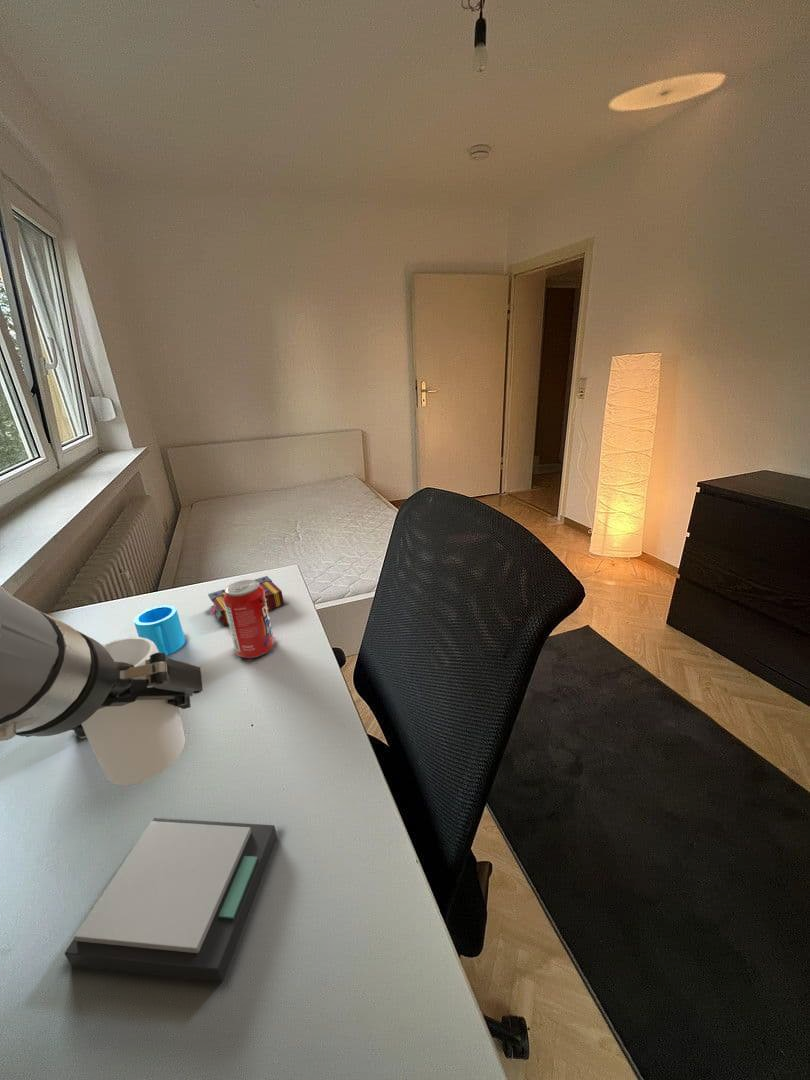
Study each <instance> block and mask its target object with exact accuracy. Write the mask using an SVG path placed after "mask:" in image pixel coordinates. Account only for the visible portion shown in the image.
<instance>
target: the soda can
mask: <svg viewBox="0 0 810 1080" xmlns="http://www.w3.org/2000/svg"><path fill="white" fill-rule="evenodd" d="M224 590H225V595H224V597H223V601H224V605H225V609H226V614H227V618H228V622H229V624H228V626H229V630H230V634H231V638H232V642H233V646H234V650H235V654H236V655H237V656H238V657H241V658H245V659H251V658H252V659H253V658H257V657H260V656H263V655H265V654H267V653H269V652H270V650H271V649H272V648H273V647H274V645H275V638H274V634H273V629H272V628H273V627H272V623H271V618H270V612H269V611H268V608H267V603H266V598H265V593H264V589H263V588H262V587H261V586H260V585H259V583H258V582H257V581H255V579H243V580H239V581H235V582H233V583H231V584H229V585H227V586H226V587H225V588H224Z"/></svg>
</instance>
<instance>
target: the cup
mask: <svg viewBox="0 0 810 1080" xmlns="http://www.w3.org/2000/svg"><path fill="white" fill-rule="evenodd" d="M101 645H102V646H103V647H104V648H105V649H106V650H107V651H108V653H109V654H110V656H111V657H112V658H113V660H114V661H115V662H125V663H128V664H132V665H133V666H134V667H136V666H141V665H145V660H147V659H150V655H152V654H154V653H158V649H157V647H156V645H155V644H154V642H153V641H151V640H149V639H147V638H141V637H139V636H129V637H125V638H120V639H116V640H111V641H108V642H106V643H103V644H101ZM117 697H118V696H117ZM179 709H180V708H179V707H175V706H174V705H171V704H168V702H167V699H163V700H136V701H134V702H132V703H129V704H126V705H123V706H110V707H104V708H101V709H98V710H97V711H96V712H95V713H94V714H93V715H92V716H91V717H90V718H88V719H87V720H86V721H84V722H83V723H82V724H81V725H82V727H83V729H84V732H85V734H86V736H87V737H86V739H87V741H88V743H89V745H90V747H91V749H92V752H93V753H94V756H95V757H96V759H97V762H98V763H99V765H100V767H101V769H102V770H103V773H104V774H105V775H106V778H107V779H108V780H109V781H110V782H111V783H112V784H115V785H118V786H131V785H136V784H141V783H143V782H145V781H149V780H151V779H153V778H155V777H156V776H158V775H160V774H162V773H163V772H165V771H166V770H168V769H169V768H171V766H172V765H174V763H175V762H176V761H177V760H178V758H179V757H180V756H181V754H182V752H183V751H184V747H185V744H186V736H185V731H184V725H183V722H182V716H181V713H180V710H179Z"/></svg>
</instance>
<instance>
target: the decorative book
mask: <svg viewBox="0 0 810 1080" xmlns="http://www.w3.org/2000/svg"><path fill="white" fill-rule="evenodd" d="M254 580H255V581H257V582H258V583H259V585H260V586H261V587H262V588H263V589H264V593H265V598H266V603H267V608H268V612H271V611H273V610H274V609H275V608H277V607H278V608H279V607H280V606H284V605H285V602H284V597H283V591H282V590H281V589H280V588H279V587H278V585H276V584H275V583H274V582H273V580H272V579H271V577H269V576H268V575H265V576H262V577H259V578H255V579H254ZM207 595H208V598H209V599H210V601H211V602H212V603H213V605H211V606H210V608H211V609H209V613H210V615H211V616H213V615H214V614H215V616H216V619H217V620H219V621H220V622H221V623H222V626H224V627H225V626H227V625H229V622H228V618H227V614H226V609H225V605H224V601H223V597H224V595H225V588H224V589H220V590H216V591H213V592H211V593H208V594H207ZM211 613H212V614H211Z"/></svg>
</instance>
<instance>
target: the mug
mask: <svg viewBox="0 0 810 1080" xmlns="http://www.w3.org/2000/svg"><path fill="white" fill-rule="evenodd" d="M133 624H134V626H135V630H136V634H138V635H137V637H141V638H147V639H149V640H151V641H153V642H154V644H155V645H156V647H157V649H158V651H159V652H160V653H165V654H166V656H167V657H168V655H171V654H173V653H175V652H177V651H178V650H180V649H181V648H182V647H183V646H184V645H185V643H186V637H185V634H184V631H183V626H182V624H181V620H180V616H179V613H178V609H177V607H176V606H174V605H169V604H164V605H157V606H153V607H150V608H148V609H145V610H143V611H142V612H140V613H138V614H137V615H136V616H135V617H134V619H133Z"/></svg>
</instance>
